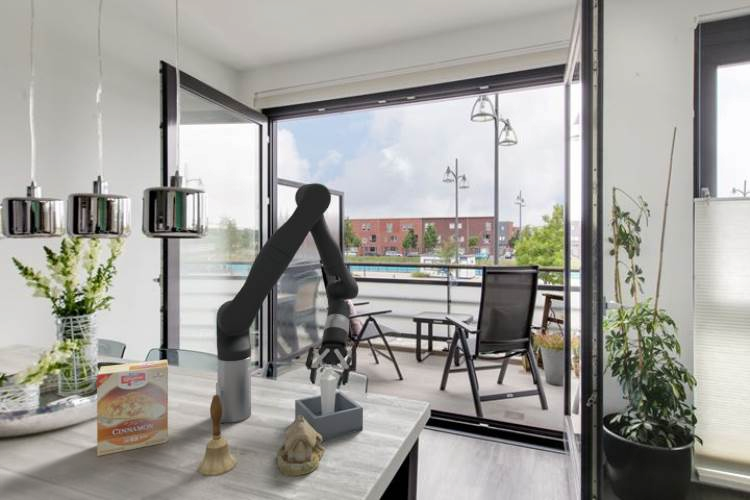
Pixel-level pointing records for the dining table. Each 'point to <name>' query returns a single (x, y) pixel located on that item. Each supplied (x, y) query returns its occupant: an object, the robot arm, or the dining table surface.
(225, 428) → the dining table surface
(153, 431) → the coffeecake box
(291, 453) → the ceramic model
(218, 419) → the hand bell
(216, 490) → the dining table surface
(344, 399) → the tote
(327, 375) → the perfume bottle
